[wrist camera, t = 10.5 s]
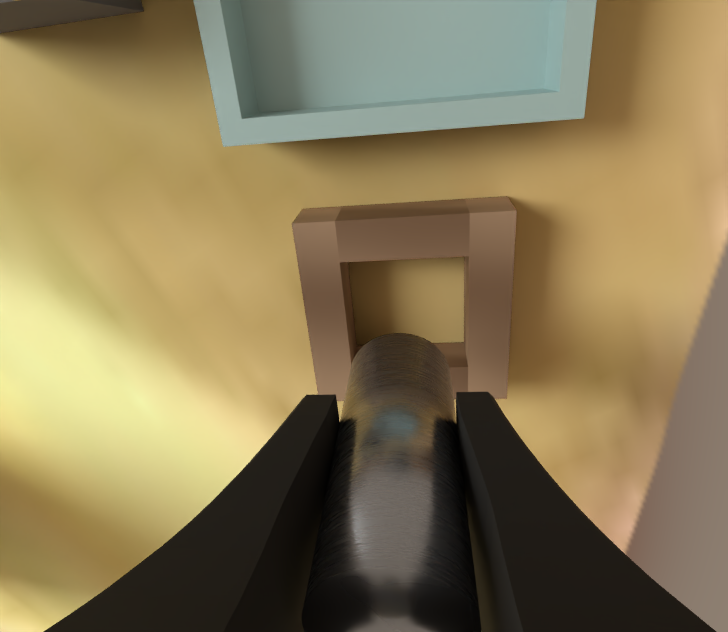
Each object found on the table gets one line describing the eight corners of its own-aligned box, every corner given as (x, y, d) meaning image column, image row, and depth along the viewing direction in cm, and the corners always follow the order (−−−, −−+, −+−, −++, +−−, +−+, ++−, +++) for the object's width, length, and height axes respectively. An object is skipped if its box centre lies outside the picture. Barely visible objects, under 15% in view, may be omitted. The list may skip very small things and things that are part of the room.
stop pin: (451, 415, 12) (480, 683, 7) (354, 417, 13) (313, 675, 7) (450, 331, 11) (483, 571, 6) (345, 334, 12) (289, 566, 6)
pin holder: (499, 371, 17) (506, 398, 16) (326, 375, 18) (319, 401, 16) (507, 196, 14) (516, 210, 13) (302, 208, 15) (291, 223, 14)
